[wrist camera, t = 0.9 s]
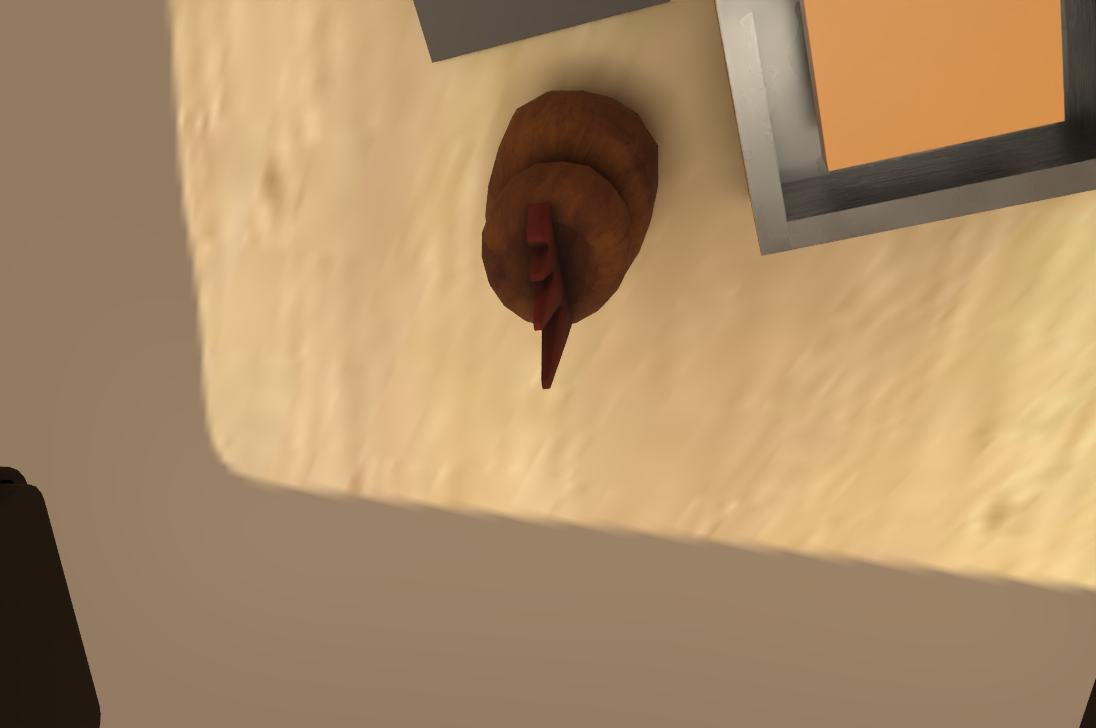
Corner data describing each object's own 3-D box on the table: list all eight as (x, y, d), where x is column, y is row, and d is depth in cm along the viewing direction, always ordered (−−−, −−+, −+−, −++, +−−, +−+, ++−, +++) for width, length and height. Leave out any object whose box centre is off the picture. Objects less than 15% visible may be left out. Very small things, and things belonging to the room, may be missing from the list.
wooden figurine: (633, 255, 40) (611, 455, 27) (495, 222, 40) (407, 406, 27) (677, 90, 37) (677, 228, 24) (527, 55, 37) (445, 172, 24)
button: (1036, -131, 29) (1055, -129, 27) (1047, 108, 31) (1064, 120, 30) (789, -65, 30) (795, -60, 29) (821, 157, 33) (828, 171, 32)
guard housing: (1071, -244, 31) (1151, -261, 26) (1081, 129, 36) (1150, 178, 31) (690, -134, 34) (692, -130, 28) (749, 199, 39) (761, 255, 33)
